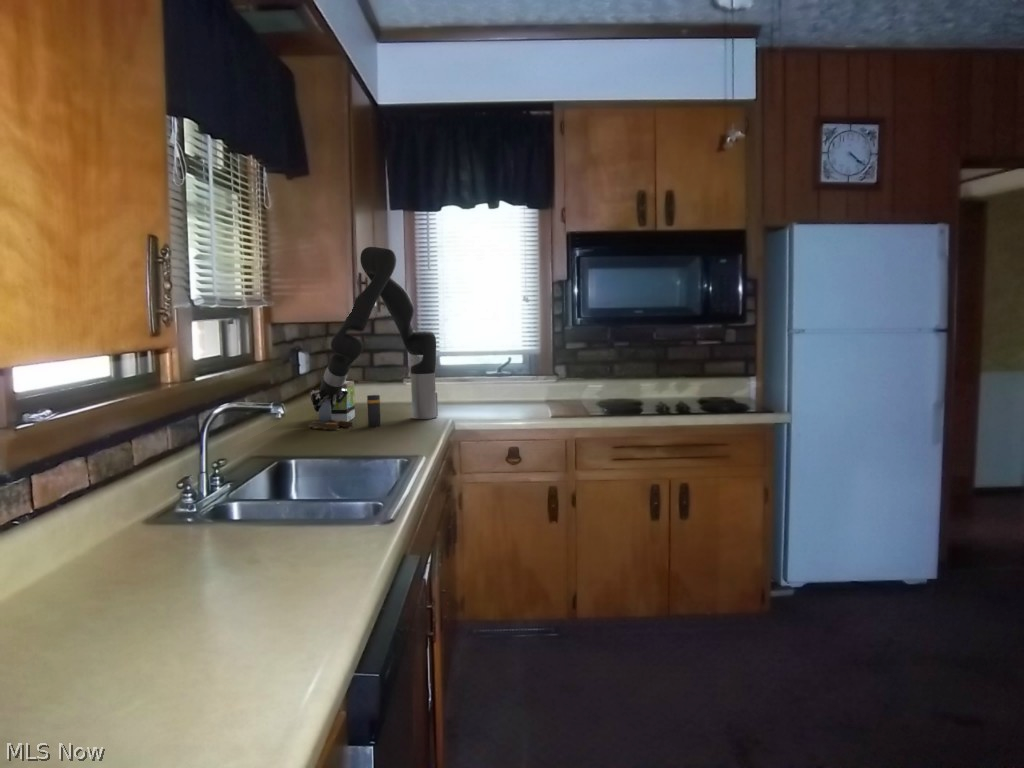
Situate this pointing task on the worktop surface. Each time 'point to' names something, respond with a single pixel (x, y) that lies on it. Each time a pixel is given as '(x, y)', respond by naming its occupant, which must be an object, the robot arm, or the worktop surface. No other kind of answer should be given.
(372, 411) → the dark grey cylinder
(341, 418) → the tea box
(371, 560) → the worktop surface
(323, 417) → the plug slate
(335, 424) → the rack
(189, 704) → the worktop surface
